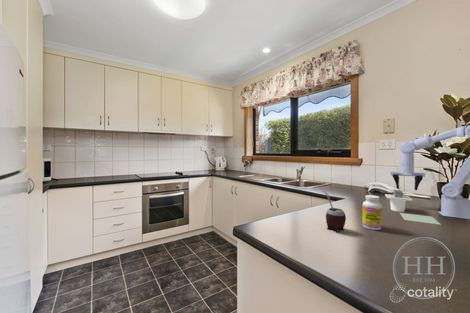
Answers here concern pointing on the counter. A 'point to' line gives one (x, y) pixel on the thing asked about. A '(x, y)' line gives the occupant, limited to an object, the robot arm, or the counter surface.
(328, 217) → the mate gourd
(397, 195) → the lid
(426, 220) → the mat
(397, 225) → the counter surface
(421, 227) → the counter surface
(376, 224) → the supplement bottle
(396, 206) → the shot glass
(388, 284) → the counter surface
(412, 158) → the robot arm
